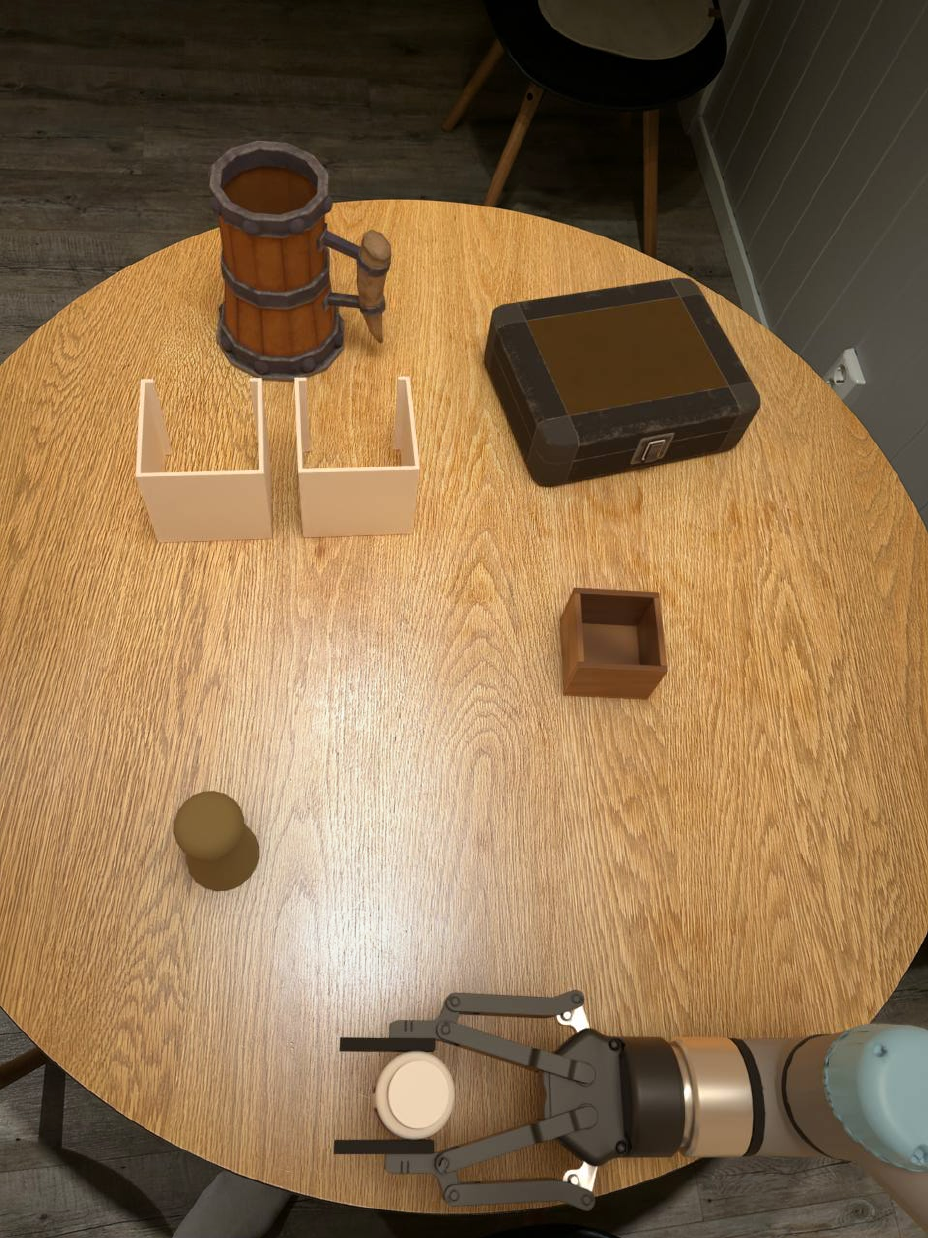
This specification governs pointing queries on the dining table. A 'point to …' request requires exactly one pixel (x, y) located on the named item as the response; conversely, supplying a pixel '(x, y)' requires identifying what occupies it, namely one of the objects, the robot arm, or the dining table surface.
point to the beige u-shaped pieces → (244, 496)
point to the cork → (216, 841)
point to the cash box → (617, 379)
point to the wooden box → (612, 643)
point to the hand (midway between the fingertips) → (337, 1094)
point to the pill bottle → (413, 1095)
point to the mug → (286, 264)
